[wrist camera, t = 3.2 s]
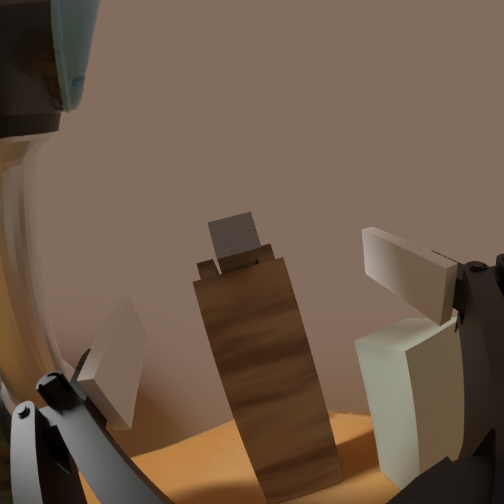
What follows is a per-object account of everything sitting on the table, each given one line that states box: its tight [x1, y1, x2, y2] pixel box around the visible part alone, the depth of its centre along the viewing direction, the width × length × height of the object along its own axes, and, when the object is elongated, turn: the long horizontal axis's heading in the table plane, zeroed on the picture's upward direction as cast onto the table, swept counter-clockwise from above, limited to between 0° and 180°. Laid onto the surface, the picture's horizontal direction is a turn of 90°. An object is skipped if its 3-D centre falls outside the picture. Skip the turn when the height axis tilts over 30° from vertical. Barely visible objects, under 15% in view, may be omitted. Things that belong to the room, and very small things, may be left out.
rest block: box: [354, 317, 464, 491], centre depth 21 cm, size 10×7×19 cm
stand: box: [193, 244, 344, 504], centre depth 32 cm, size 10×10×32 cm
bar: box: [208, 212, 261, 274], centre depth 33 cm, size 22×4×3 cm, turn 3°
